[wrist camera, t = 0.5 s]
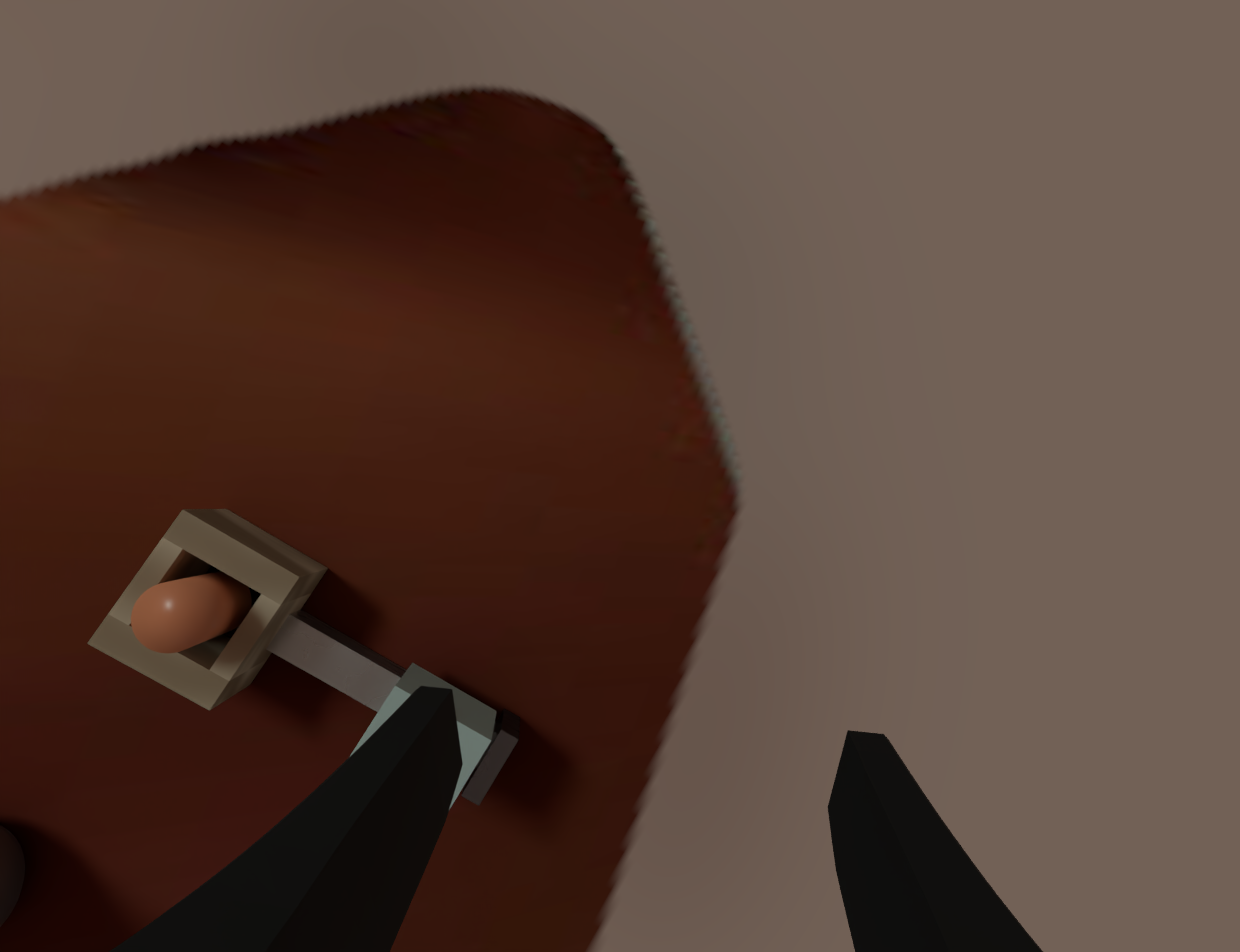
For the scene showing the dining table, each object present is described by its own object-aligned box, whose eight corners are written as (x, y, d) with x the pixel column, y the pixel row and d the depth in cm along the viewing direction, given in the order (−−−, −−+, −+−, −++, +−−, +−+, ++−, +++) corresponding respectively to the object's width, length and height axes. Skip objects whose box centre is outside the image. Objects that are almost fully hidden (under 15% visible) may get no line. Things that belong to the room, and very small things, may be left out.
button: (228, 645, 30) (180, 666, 26) (171, 613, 29) (115, 630, 25) (264, 591, 30) (223, 604, 26) (209, 560, 30) (159, 568, 26)
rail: (484, 776, 33) (478, 805, 30) (269, 655, 32) (240, 672, 28) (519, 717, 33) (518, 739, 30) (309, 596, 32) (285, 605, 29)
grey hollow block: (250, 684, 31) (209, 710, 27) (144, 626, 31) (87, 643, 27) (328, 568, 32) (299, 577, 28) (226, 509, 32) (182, 509, 28)
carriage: (453, 781, 31) (441, 822, 27) (367, 733, 31) (342, 768, 26) (497, 710, 31) (491, 740, 27) (413, 661, 31) (395, 685, 27)
